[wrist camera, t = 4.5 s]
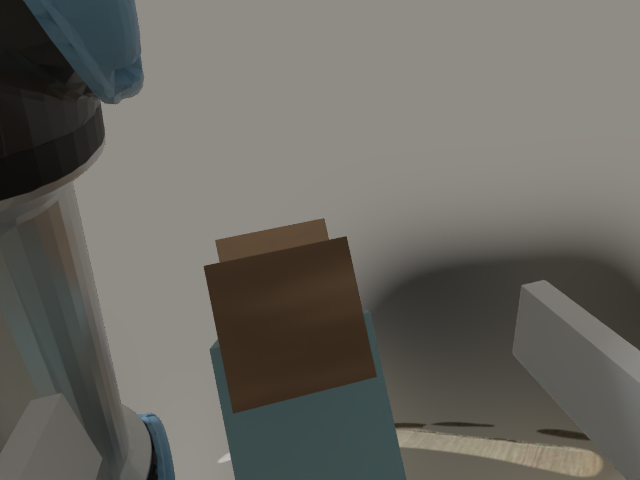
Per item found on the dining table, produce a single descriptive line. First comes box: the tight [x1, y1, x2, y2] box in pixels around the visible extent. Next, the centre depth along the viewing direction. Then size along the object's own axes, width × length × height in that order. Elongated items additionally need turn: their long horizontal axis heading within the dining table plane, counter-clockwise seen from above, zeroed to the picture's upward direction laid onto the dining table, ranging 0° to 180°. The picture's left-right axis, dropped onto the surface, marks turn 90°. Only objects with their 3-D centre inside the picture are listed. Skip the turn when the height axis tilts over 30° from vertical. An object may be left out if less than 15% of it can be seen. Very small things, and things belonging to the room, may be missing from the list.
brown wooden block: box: [204, 218, 377, 414], centre depth 21 cm, size 21×7×6 cm, turn 6°
